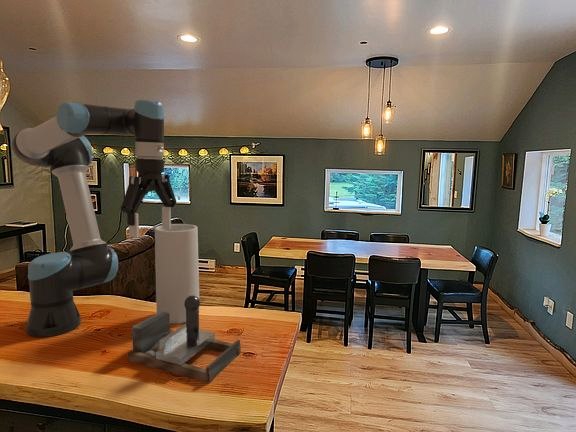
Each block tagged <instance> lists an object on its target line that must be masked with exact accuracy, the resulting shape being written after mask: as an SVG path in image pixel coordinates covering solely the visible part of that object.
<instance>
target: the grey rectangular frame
mask: <svg viewBox="0 0 576 432" xmlns="http://www.w3.org/2000/svg"><path fill="white" fill-rule="evenodd" d="M170 325H171V324H170V318H169V313H167V312H162V311H161V312H159V313H157V312H156V313H155V314H154V315H151V316H150V317H148V318H146V319H144V320H142V321H141V322H138V323H137V324H135V325H133V326H132V327H131V335H132V349H131V350H130V351H128V352H127V362H130V363H133V364H136V365H141V366H145V367H147V368H153V369H156V370H159V371H164V372H166V373H167V372H168V373H170V374H174V375H178V376H181V377H185V378H189V379H193V380H196V381H200V382H205V383H207V384H210V383H212V381H213V380H214V379H215V378H217V376H218V375H219V374H220V373H221V372H222V371H223V370H224V369H225V368H227V367H228V366H229V364H231V363H232V362H233V361H234V360H235V359H236V358H237V357H238V356H240V355H241V349H242V347H241V340H240V339H237V340H236V341H234V342H233V343H231V342H227V341H222V340H218V339H214V340H213V341H212V342H210V343H209V344H208V345H206V346H205V347H204V348H203V349H207V350H210V351H214V352H220V353H221V354H220V355H218V356H217V357H216V358H215V359H214V360H213V361H212V362H211V363H209V364H208V365H207V366H206V367H205V368H204V367H199V366H196V365H191V364H188V363H184V364H182V365H178V364H174V363H170V362H166V361H162V360H158V359H156V356H153V355H149V354H145V352H147V351H149V350H150V349H151V348H152V347H153V346H154V344H155V343H156V342H157V341H158V340H159V339H160V338H161V336H162V335H163V334H165V333H172V332H173V331H174V330H172V329H171V326H170Z"/></svg>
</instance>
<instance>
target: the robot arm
mask: <svg viewBox="0 0 576 432" xmlns="http://www.w3.org/2000/svg"><path fill="white" fill-rule="evenodd" d="M164 114H165V112H164V105H163V103H162V102H160V101H157V100H148V99H137V100H135V102H134V107H133V108H122V107H114V106H104V105H97V104H96V105H95V104H88V103H81V102H75V101H74V102H69V101H67V102H62V103H60V104H59V106H58V108H57V109H56V116H53V117H52V118H50V119H48V120H46V121H45V122H43V123H40V124H39V125H37V126H35V127H25V128H23V129H21V130H20V131H18V132H17V133H16V134H14V136H13V137H12V139H11V150H12V152H13V154H14V155H15V156H16V158H18V160H20V161H21V162H22V163H25V164H27V165H30V166H34V167H49V168H50V172H51V174H52V175H53V176H55V177H57V179H58V182H59V187H60V192H61V196H62V200H63V206H64V209H65V214H66V217H67V222H68V227H69V231H70V235H71V240H72V247H70V250H69V252H66V251H57V252H51V253H46V254H43V255H40V256H37V257H35V258H33V260H31V261H30V262H29V264H28V265H27V266H28V272H27V273H28V274H27V279H28V285H29V297H30V299H29V300H30V310H29V314H28V318H27V321H26V324H25V330H26V334H27V335H29V336H31V337H35V338H37V337H38V338H45V337H46V338H47V337H53V336H54V337H55V336H58V335H63V334H65V333H69V332H72V331H73V330H75V329H77V328H78V327H79V326H80V325H81V323H82V321H81V320H82V319H81V318H82V317H81V314H80V312H79V310H78V307H77V306H76V303H75V302H74V291H77V290H81V289H85V288H90V287H94V286H97V285H102V284H104V283H107V282H110V281H112V280H113V279H114V278H115V277H116V275H117V272H118V269H119V258H118V254H117V252H116V251H115V250H114V249H113V248H111V247H108V243H107V242H106V241H104V240H103V239H102V238H101V233H100V231H99V226H98V221H97V217H96V213H95V209H94V205H93V204H94V203H93V200H92V195H91V191H90V188H89V183H88V182H89V181H88V179H87V172H88V171H89V170H90V165H91V164H92V162H93V159H94V158H93V156H94V151H93V148H92V145H91V142H90V140H88V138H87V136H86V135H91V134H93V135H94V134H96V135H109V136H110V135H112V136H113V135H115V136H124V137H128V136H129V137H130V136H131V137H132V136H133V137H135V142H134V143H135V145H134V146H135V149H134V150H135V156H136V157H137V158H136V159H135V171H136V172H137V173H138V176H135V175H130V176H129V178H128V185H127V189H126V191H125V195H124V198H123V200H122V204H121V205H120V212H123V213H124V214H126V218H127V226H128V237H130V238H135V239H137V238H139V237H140V232H139V229H140V228H139V227H140V226H139V213H137V211H138V210H139V208H140V205H141V204H142V202H143V200H144V198H145V196H146V195H147V194H149V192H155V193H156V195H157V197H158V199H159V200H160V202H161V203H162V205H163V206H161V226H162V228H166V229H171V224H172V208H174V207H175V206H176V204H177V199H176V196H175V194H174V193H175V192H174V190H173V187H172V185H171V180H170V174H166V173H165V174H164V172H165V160H164V159H163V158H164V156H165V147H164V146H165V144H164V143H165V132H164V131H165V116H164Z"/></svg>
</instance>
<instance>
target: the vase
mask: <svg viewBox="0 0 576 432" xmlns="http://www.w3.org/2000/svg"><path fill="white" fill-rule="evenodd" d="M198 234H199V231H198V226H197V225H195V224H187V223H171V229H166V228H162V225H158V226H155V228H154V250H155V251H154V254H155V255H154V256H155V257H154V260H155V261H154V262H155V302H156V303H155V304H156V314H157V313H159V312H161V311H162V312H167V313H169V318H170V325H177V324H179V325H180V324H186V308H185V306H184V302H185V300H186V298H187V297H189V296H196V297H198V298H199V299H200V276H199V275H200V272H199V271H200V270H199V269H200V268H199V235H198Z"/></svg>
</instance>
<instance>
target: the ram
mask: <svg viewBox="0 0 576 432" xmlns="http://www.w3.org/2000/svg"><path fill="white" fill-rule="evenodd" d="M184 306H185V308H186V322H185V323H183V325H182V326H180V327H178V328H176V329H175V330H173V332H172V333H170V334H169V335H167V336H166V337H164V338H162V339H161V340H160V350H159V351H157V352H156V359H158V360H162V361H166V362H170V363H174V364H178V365H182V364H186V362H187V361H189V360H190V359H191V358H193V356H195V355H196V354H198V353H199V352H200V351H202V349H205V348H204V347H205V346H206V345H208V344H209V343H210V342H212V341H213V340H216V333H215V332H212V331H207V330H202V329H200V306H201V300H200V297H199V298H198V297H196V296H189V297H187V298H186V300H185V302H184Z"/></svg>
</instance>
